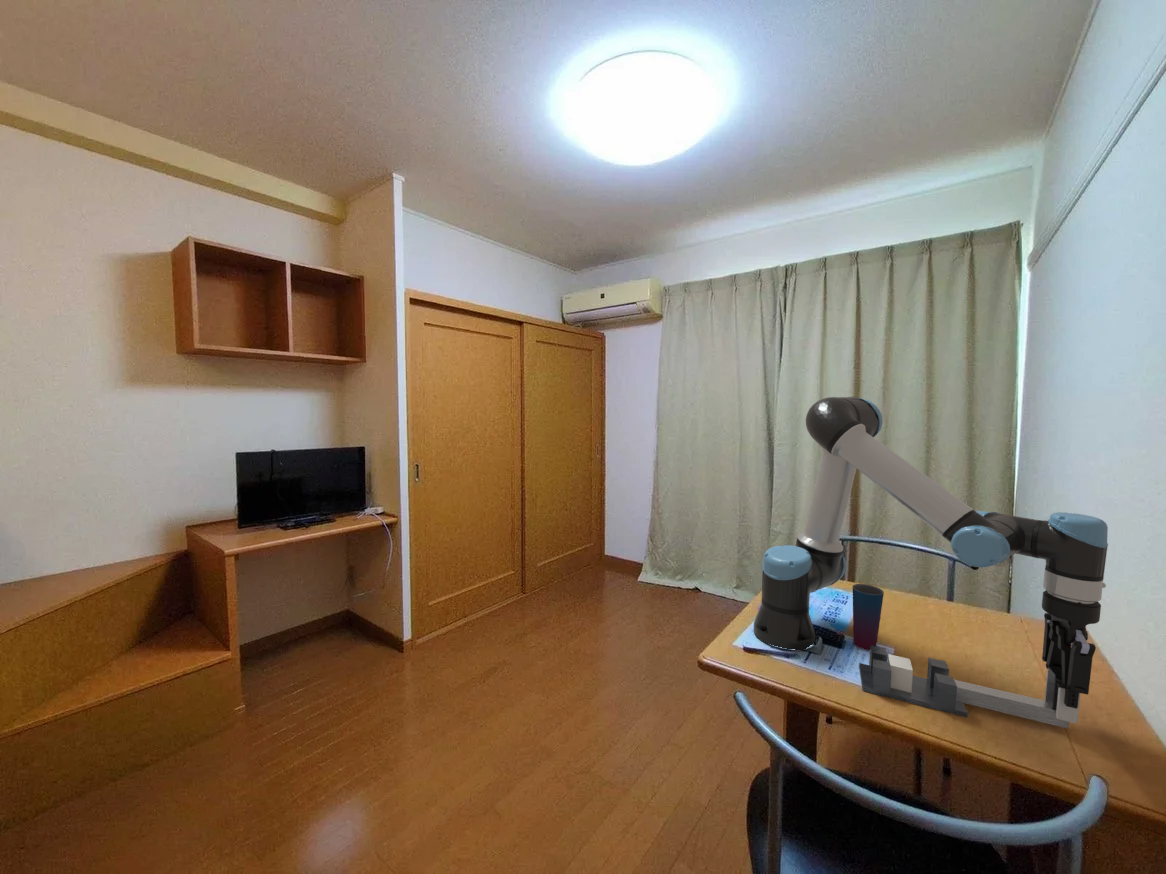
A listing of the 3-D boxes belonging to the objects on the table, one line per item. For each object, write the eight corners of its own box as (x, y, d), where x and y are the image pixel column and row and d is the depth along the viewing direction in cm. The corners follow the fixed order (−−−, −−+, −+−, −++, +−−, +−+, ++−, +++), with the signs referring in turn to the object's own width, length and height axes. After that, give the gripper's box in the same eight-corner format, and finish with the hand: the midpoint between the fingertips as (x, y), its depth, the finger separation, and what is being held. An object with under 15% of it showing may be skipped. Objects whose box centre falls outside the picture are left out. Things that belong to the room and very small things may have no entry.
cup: (885, 653, 114) (888, 595, 112) (855, 650, 115) (858, 593, 114) (873, 639, 120) (876, 585, 119) (845, 636, 122) (848, 582, 120)
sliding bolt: (937, 696, 96) (941, 651, 95) (934, 688, 98) (937, 644, 97) (1072, 729, 86) (1077, 679, 85) (1064, 719, 89) (1069, 671, 88)
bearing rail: (862, 690, 99) (863, 664, 99) (859, 666, 108) (860, 642, 107) (967, 717, 91) (969, 689, 90) (954, 689, 100) (956, 663, 99)
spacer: (911, 692, 97) (888, 687, 99) (908, 680, 101) (886, 675, 103) (912, 670, 96) (890, 665, 98) (909, 658, 101) (888, 654, 103)
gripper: (1127, 619, 77) (1113, 749, 78) (1076, 583, 92) (1065, 692, 94) (1065, 610, 80) (1054, 734, 82) (1026, 576, 95) (1017, 681, 97)
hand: (1060, 711), depth 88 cm, fingers open, 4 cm apart
